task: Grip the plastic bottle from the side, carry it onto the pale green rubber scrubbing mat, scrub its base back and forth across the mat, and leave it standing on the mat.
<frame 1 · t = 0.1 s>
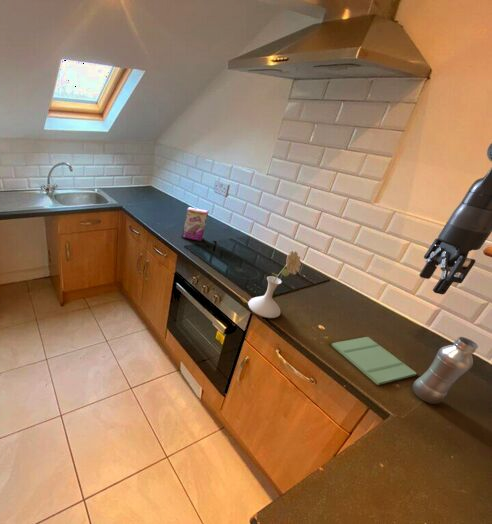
hand: (430, 284, 76), 30 cm above the countertop, tool pointing down, fingers open, 8 cm apart
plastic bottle: (423, 396, 83), on the countertop
flower in vase: (264, 311, 111), on the countertop
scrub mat: (371, 359, 94), on the countertop
pink beige food bag: (192, 238, 166), on the countertop
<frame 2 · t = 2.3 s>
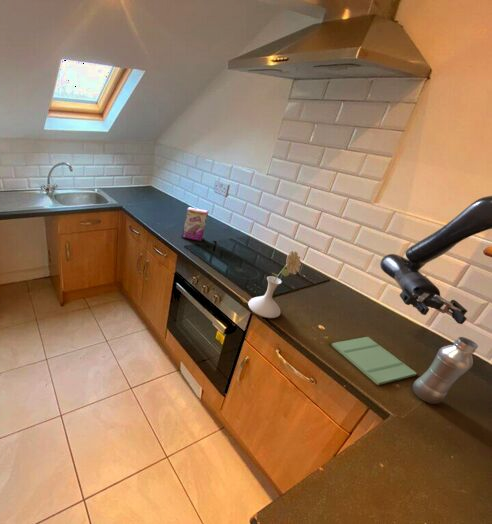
hand: (444, 316, 83), 20 cm above the countertop, tool horizontal, fingers open, 8 cm apart
nothing on the countertop moved.
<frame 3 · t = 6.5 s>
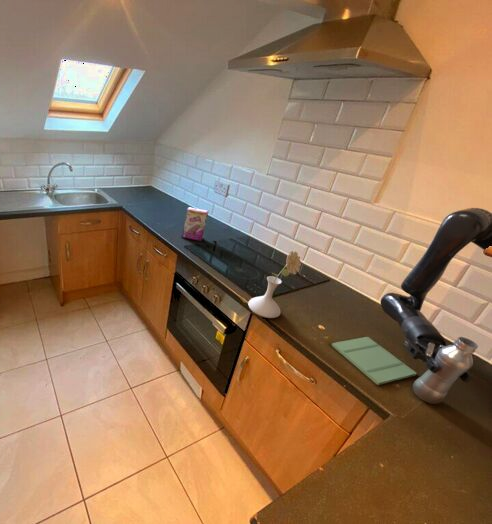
hand: (451, 375, 75), 11 cm above the countertop, tool horizontal, fingers closed on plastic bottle, 6 cm apart
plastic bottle: (423, 396, 83), on the countertop, touching gripper
everything else where it was.
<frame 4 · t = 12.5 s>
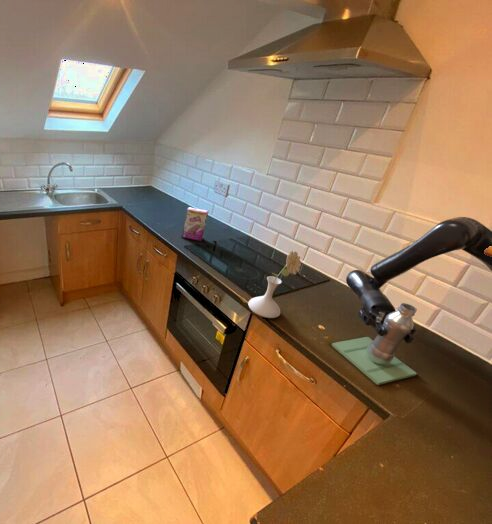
hand: (396, 337, 85), 12 cm above the countertop, tool horizontal, fingers closed on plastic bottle, 6 cm apart
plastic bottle: (375, 359, 92), point 1 cm above the countertop, touching gripper
everything else where it was.
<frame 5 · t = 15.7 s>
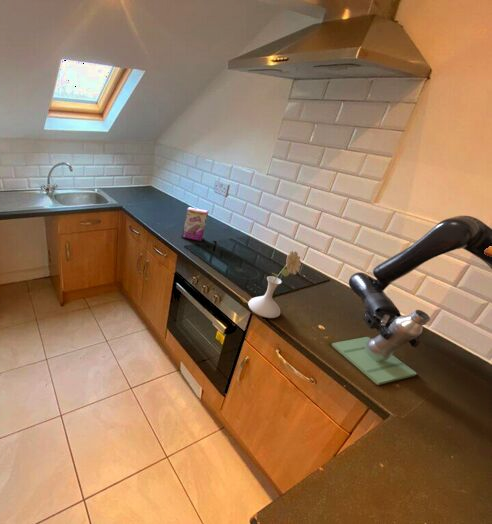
hand: (401, 340, 84), 12 cm above the countertop, tool horizontal, fingers closed on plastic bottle, 6 cm apart
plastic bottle: (372, 354, 94), point 2 cm above the countertop, touching gripper, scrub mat
everything else where it was.
when the fingers open (12 cm above the countertop, at t = 18.5 s): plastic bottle stays where it is, resting on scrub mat.
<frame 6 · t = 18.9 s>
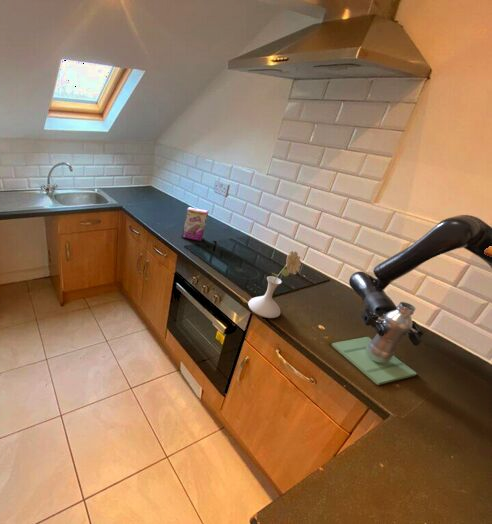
hand: (400, 338, 85), 12 cm above the countertop, tool horizontal, fingers open, 8 cm apart
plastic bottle: (374, 358, 93), point 1 cm above the countertop, touching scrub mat
everything else where it was.
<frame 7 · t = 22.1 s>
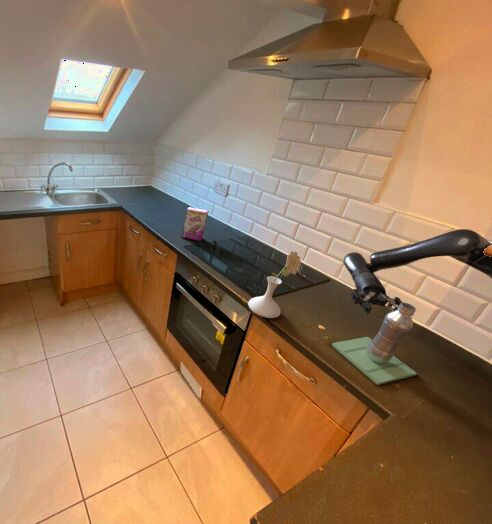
hand: (384, 314, 95), 12 cm above the countertop, tool horizontal, fingers open, 8 cm apart
nothing on the countertop moved.
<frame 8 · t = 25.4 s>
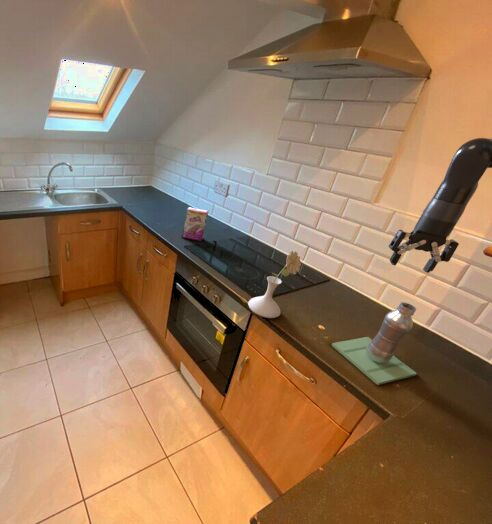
hand: (409, 267, 89), 28 cm above the countertop, tool pointing down, fingers open, 8 cm apart
nothing on the countertop moved.
at the end: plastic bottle inside the target area (1.6 cm from its centre), point 0.8 cm above the countertop; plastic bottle tilted 0°; the gripper is holding nothing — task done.
